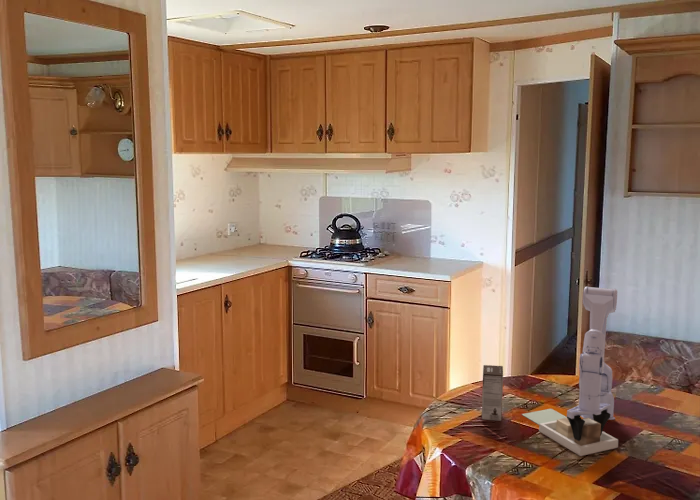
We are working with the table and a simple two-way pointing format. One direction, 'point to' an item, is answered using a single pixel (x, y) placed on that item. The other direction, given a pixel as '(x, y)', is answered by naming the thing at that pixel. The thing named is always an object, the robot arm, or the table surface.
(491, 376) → the coffee box
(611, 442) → the bin
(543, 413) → the tile
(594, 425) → the labelled box
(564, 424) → the plain box
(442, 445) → the table surface
